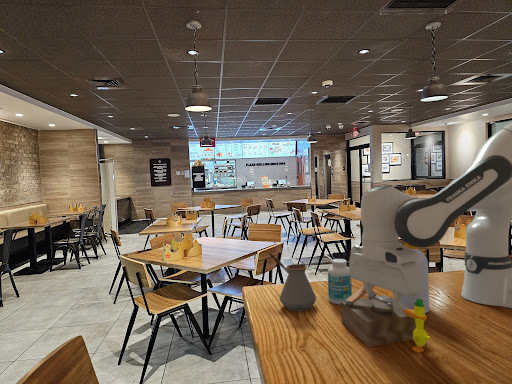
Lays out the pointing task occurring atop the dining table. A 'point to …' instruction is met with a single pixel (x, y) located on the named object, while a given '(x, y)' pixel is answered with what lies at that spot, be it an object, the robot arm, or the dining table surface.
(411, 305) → the soap bottle
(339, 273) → the pill bottle
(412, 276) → the robot arm
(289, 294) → the coffee pot
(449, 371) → the dining table surface
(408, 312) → the toy figure
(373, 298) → the steel pin
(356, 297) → the bar
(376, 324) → the brown square block
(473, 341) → the dining table surface
